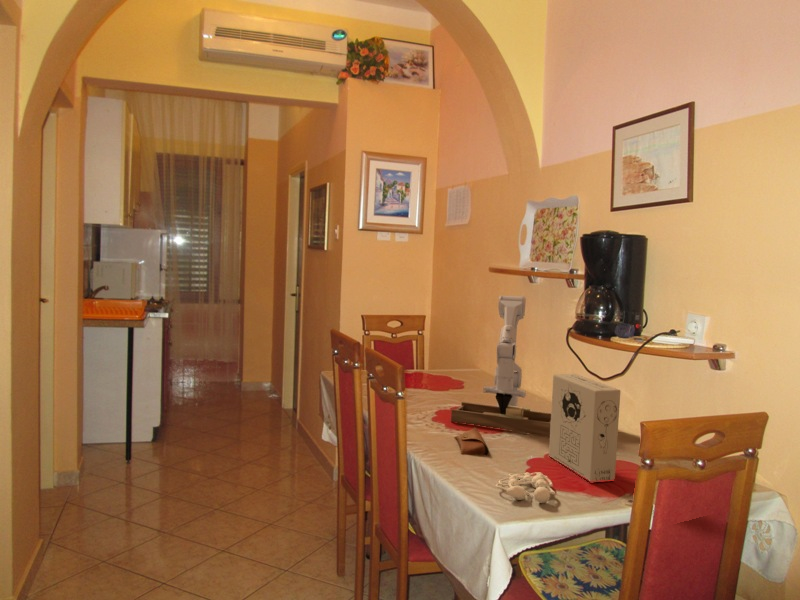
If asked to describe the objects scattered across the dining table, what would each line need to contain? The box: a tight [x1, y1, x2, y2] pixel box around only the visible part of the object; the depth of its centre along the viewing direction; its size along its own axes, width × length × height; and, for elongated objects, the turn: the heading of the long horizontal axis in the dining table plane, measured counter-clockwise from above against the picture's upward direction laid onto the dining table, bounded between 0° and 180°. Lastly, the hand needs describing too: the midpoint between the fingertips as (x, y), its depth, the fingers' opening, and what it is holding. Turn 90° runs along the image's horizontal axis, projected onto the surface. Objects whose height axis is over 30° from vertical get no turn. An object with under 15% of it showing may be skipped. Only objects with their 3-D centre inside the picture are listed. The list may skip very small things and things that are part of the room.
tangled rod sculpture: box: [495, 471, 556, 504], centre depth 157 cm, size 19×14×4 cm
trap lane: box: [450, 401, 551, 438], centre depth 215 cm, size 13×34×5 cm, turn 67°
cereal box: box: [548, 373, 621, 481], centre depth 172 cm, size 22×8×25 cm, turn 17°
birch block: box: [506, 405, 524, 417], centre depth 214 cm, size 5×5×4 cm
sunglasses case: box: [454, 427, 490, 456], centre depth 191 cm, size 18×7×7 cm
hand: (503, 415), depth 215 cm, fingers closed
